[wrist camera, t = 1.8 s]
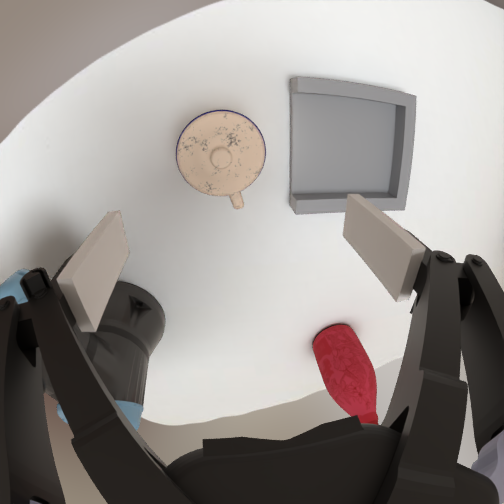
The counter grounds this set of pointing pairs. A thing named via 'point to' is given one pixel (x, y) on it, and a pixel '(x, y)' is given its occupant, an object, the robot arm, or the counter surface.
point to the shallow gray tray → (349, 145)
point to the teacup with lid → (221, 154)
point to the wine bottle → (347, 372)
